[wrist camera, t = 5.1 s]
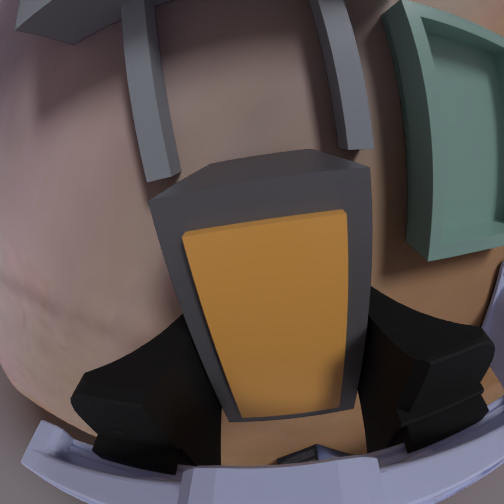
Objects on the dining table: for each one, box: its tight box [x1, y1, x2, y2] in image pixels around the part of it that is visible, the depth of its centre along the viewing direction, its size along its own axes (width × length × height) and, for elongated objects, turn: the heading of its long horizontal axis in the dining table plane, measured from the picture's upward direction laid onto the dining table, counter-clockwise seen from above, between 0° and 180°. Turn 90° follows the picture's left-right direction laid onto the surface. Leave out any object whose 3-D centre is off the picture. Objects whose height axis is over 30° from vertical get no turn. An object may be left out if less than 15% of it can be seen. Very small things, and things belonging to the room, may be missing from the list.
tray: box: [381, 0, 504, 262], centre depth 9 cm, size 13×9×2 cm
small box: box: [277, 444, 353, 465], centre depth 21 cm, size 11×6×10 cm, turn 47°
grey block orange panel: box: [148, 149, 372, 422], centre depth 10 cm, size 8×4×7 cm, turn 9°
